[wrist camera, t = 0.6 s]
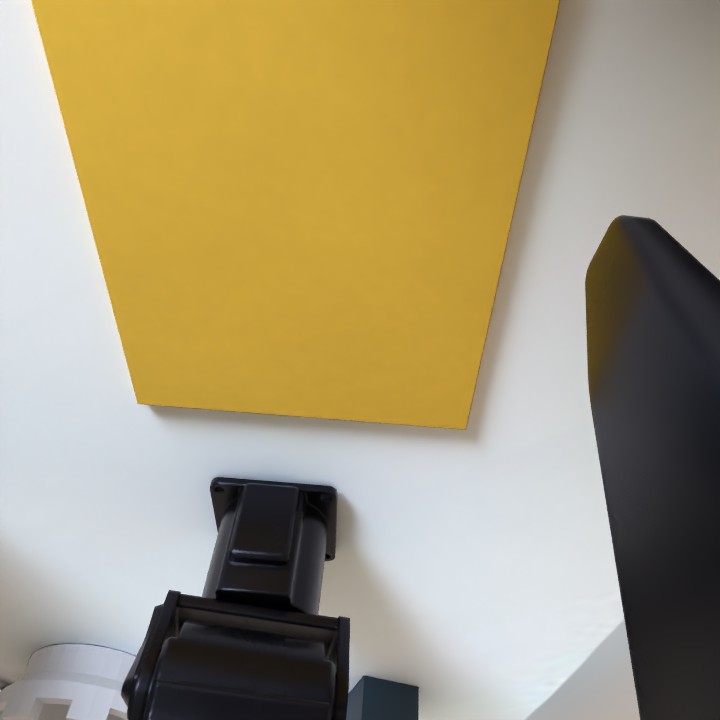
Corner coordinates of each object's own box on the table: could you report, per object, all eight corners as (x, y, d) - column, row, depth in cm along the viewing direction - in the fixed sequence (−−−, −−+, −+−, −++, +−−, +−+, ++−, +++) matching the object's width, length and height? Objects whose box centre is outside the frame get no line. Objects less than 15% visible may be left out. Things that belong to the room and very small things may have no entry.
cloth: (465, 423, 31) (466, 429, 31) (140, 398, 31) (137, 404, 31) (569, -54, 18) (571, -51, 18) (14, -88, 19) (8, -86, 18)
